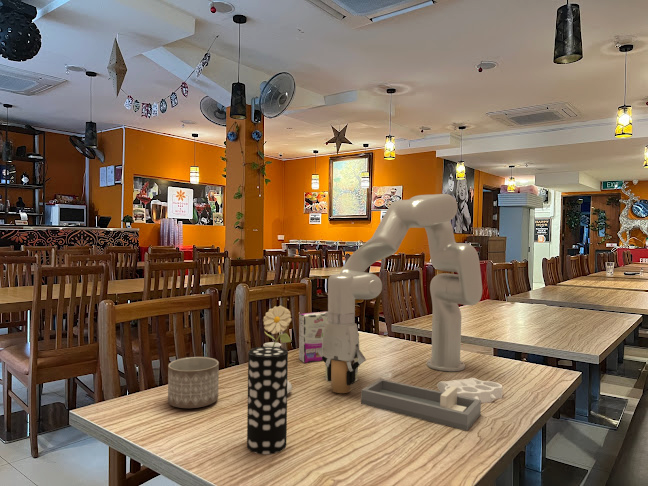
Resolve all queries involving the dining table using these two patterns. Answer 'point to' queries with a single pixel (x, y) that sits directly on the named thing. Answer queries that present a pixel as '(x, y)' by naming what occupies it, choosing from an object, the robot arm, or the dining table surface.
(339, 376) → the jar
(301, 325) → the candy bar box
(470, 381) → the knuckle duster
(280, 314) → the flower in vase
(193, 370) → the planter
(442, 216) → the robot arm
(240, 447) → the dining table surface
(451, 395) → the plate
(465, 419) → the grey rectangular tray
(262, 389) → the white-spotted black cylinder
